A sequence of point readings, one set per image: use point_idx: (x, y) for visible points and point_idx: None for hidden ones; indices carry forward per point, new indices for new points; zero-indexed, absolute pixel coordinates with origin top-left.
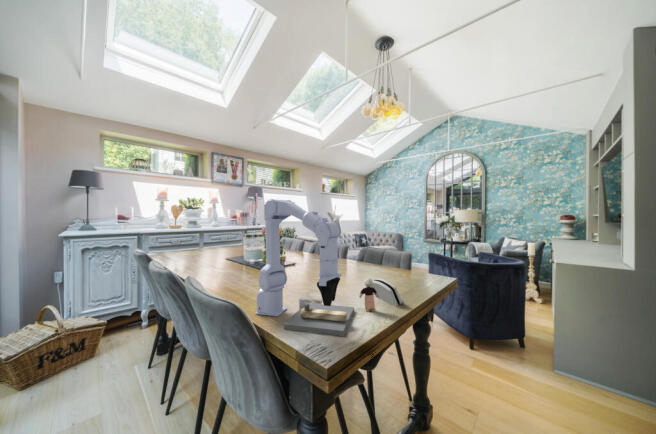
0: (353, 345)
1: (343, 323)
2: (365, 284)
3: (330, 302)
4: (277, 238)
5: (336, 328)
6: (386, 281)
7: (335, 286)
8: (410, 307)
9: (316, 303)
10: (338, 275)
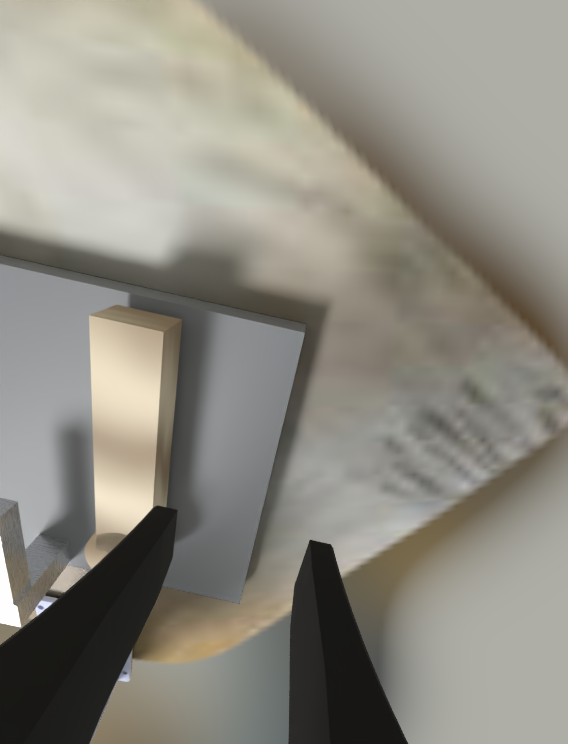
0: (422, 264)
1: (193, 329)
2: None
3: (341, 582)
4: None
5: (272, 374)
6: None
7: (47, 721)
8: None
9: (19, 527)
10: None
